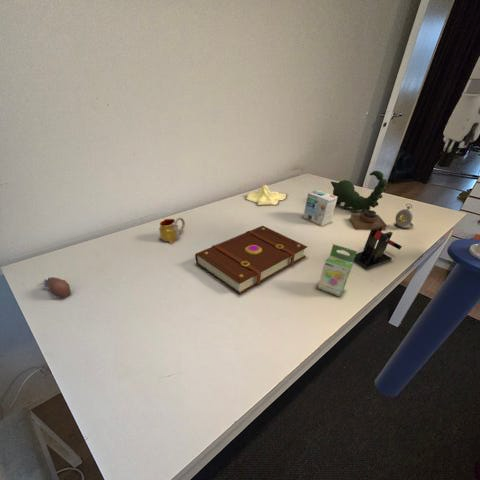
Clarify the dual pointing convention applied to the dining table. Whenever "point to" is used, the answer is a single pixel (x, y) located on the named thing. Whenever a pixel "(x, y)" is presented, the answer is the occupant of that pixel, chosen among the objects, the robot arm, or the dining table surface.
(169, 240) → the mug
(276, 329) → the dining table surface
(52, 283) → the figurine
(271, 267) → the book
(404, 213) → the pocket watch
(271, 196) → the cloth
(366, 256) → the black lever stand
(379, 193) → the toy figurine
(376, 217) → the button block
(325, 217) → the light bulb box
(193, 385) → the dining table surface
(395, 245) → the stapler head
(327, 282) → the ink box
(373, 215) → the button
